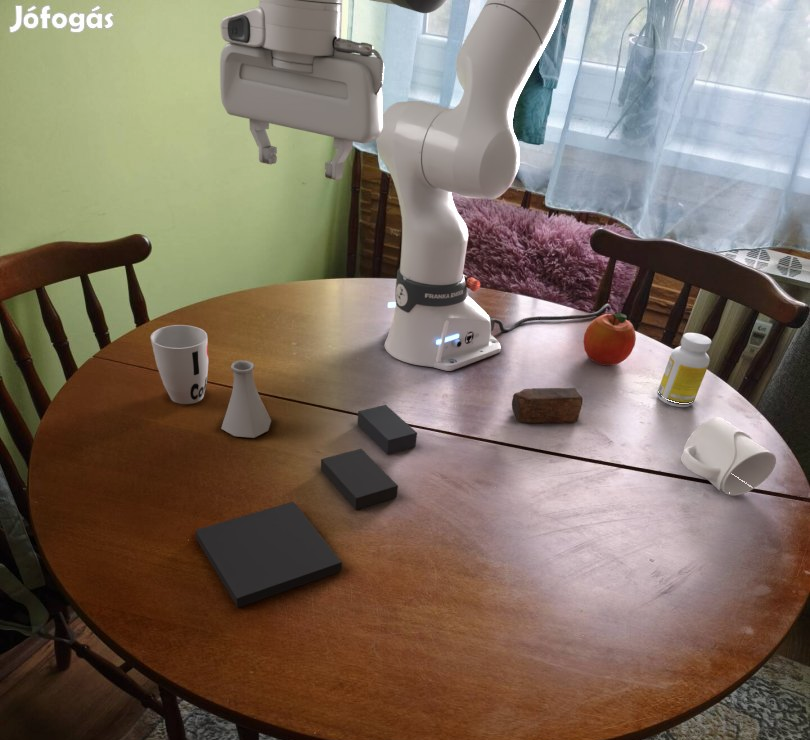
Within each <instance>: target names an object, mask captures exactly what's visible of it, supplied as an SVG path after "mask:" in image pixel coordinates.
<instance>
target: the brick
mask: <svg viewBox="0 0 810 740" xmlns="http://www.w3.org/2000/svg"><path fill="white" fill-rule="evenodd" d="M583 403H584V397H583V396H582V395H581V393H580V392H579V390H578V389H577V388H576V387H537V388H536V387H535V388H534V387H533V388H523V389H522V390H520V391H518V392H515V393H514V394H513V396H512V399H511V409H512V414H513V416H514V419H515V421H516V422H519V423H523V424H568V423H577V422H578V420H579V418H580V413H581V411H582V406H583Z"/></svg>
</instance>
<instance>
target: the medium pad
mask: <svg viewBox="0 0 810 740" xmlns="http://www.w3.org/2000/svg"><path fill="white" fill-rule="evenodd" d="M320 471H321V473H322V474H323V475H324V476H325V477H326V478H327V480H328V481H329V482H330V484H332V485H333V486H334V487H335V488H336V489H337V491H338V492H339V493H340V494H341V495H342V497H343V498H344V499H345V500H346V501H347V502H348V504H350V506H351V507H352V508H353V509H354V511H357V510H360V509H364V508H367V507H370V506H373V505H376V504H379V503H383V502H386V501H389V500H390V501H391V500H393V499H396V498H397V497H398V492H399V491H398V490H399V485H398V484H397V483H396V482H395V481H394V480H393V479H392V478H391V477H390V476H389V475H388V474H387V473H386V472H385V471H384V470H383V469H382V468H381V466H380V465H378V464H377V463H376V462H375V461H374V459H372V458H371V456H370V455H368V453H366V451H365V450H364V449H362V448H358V449H357V448H356V449H354V450H350V451H347V452H343V453H339V454H335V455H331V456H327V457H323V458H320Z"/></svg>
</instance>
